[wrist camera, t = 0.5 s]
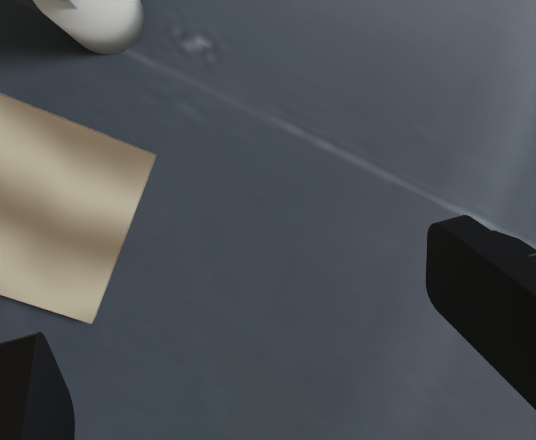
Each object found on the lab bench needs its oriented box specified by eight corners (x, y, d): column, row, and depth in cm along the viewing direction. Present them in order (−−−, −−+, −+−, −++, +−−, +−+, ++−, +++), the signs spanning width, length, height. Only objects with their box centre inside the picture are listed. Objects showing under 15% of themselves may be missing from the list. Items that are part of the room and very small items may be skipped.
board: (-29, 81, 32) (-38, 79, 31) (156, 154, 34) (155, 155, 33) (-89, 258, 33) (-99, 263, 32) (94, 317, 35) (91, 323, 34)
